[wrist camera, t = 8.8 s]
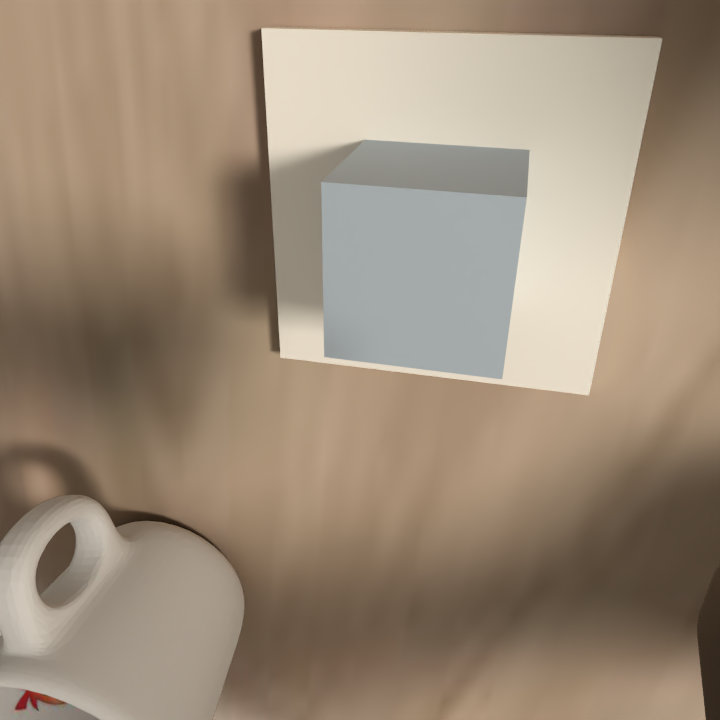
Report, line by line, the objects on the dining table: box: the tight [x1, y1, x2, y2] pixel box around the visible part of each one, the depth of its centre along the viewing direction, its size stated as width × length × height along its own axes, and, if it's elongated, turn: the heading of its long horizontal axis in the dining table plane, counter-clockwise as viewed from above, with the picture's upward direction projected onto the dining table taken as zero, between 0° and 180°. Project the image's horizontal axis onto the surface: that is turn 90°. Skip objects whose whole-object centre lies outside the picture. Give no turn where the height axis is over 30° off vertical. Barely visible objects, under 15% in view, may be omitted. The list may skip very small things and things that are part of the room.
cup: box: [0, 495, 244, 720], centre depth 24 cm, size 11×8×8 cm
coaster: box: [261, 27, 663, 395], centre depth 18 cm, size 9×9×1 cm
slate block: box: [321, 140, 530, 379], centre depth 16 cm, size 4×4×4 cm
